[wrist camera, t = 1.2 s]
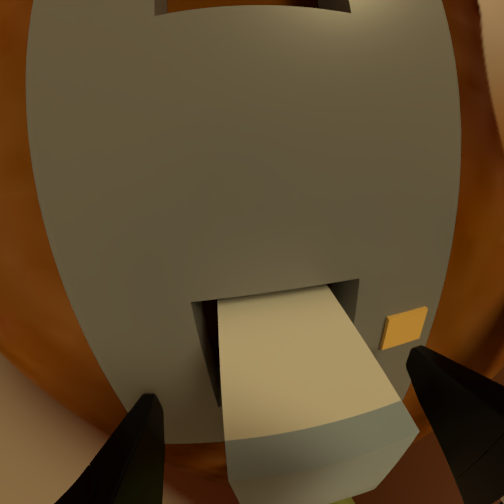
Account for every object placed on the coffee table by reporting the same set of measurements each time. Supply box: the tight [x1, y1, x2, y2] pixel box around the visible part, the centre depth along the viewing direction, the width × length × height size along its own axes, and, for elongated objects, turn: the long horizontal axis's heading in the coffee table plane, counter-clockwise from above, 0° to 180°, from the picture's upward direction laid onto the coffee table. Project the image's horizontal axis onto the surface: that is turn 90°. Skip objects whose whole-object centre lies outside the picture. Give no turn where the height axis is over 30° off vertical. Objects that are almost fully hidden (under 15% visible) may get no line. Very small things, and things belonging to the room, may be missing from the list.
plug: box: [217, 284, 420, 504], centre depth 9 cm, size 4×4×8 cm
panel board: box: [26, 0, 461, 444], centre depth 8 cm, size 14×26×3 cm, turn 5°
